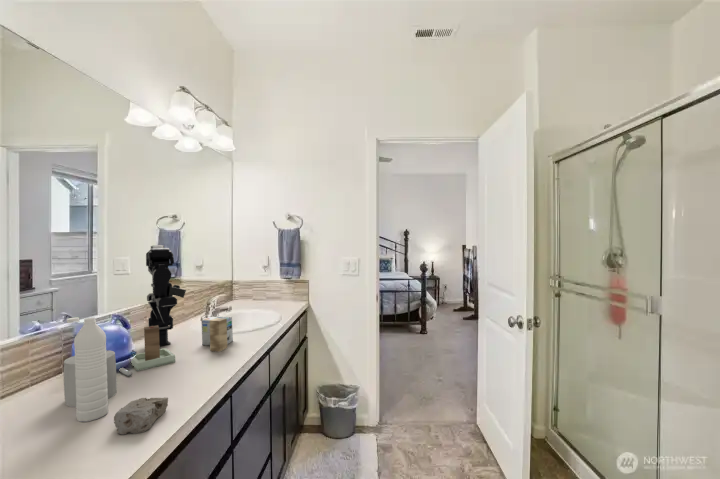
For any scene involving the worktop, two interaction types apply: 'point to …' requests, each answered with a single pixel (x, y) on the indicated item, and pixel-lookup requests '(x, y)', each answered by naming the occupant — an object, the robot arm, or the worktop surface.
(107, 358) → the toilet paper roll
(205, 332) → the light bulb box
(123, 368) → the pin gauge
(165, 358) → the tray
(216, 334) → the oak block
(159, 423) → the worktop surface
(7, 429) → the worktop surface
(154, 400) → the stone
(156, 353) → the walnut block
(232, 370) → the worktop surface
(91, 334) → the water bottle
